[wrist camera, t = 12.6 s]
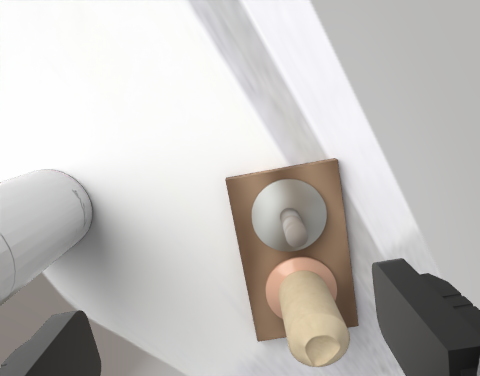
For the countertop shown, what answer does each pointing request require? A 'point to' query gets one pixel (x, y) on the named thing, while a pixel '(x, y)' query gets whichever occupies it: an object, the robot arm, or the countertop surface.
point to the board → (272, 257)
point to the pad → (289, 267)
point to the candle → (312, 320)
